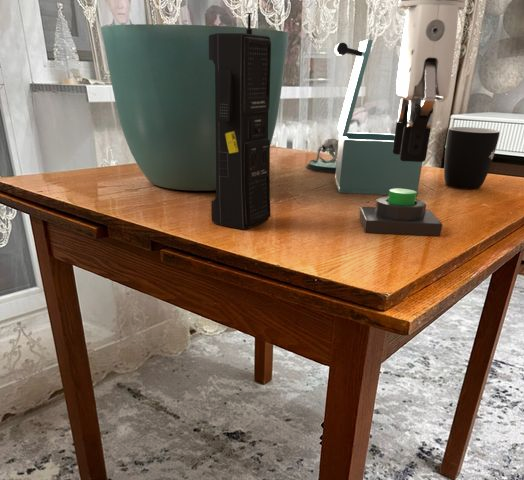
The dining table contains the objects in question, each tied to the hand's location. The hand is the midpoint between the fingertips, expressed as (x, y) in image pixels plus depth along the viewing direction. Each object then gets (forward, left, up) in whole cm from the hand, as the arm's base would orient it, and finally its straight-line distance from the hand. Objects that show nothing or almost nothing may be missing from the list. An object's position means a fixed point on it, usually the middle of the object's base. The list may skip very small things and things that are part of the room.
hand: (408, 156), depth 71 cm
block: (0, 0, -9) cm, 9 cm away
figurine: (+7, -46, -10) cm, 48 cm away
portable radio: (+22, +2, -10) cm, 24 cm away
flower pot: (+32, -25, -10) cm, 42 cm away
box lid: (+5, -27, +7) cm, 28 cm away
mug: (-18, -34, -10) cm, 40 cm away
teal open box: (0, -27, -9) cm, 29 cm away
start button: (0, 0, -6) cm, 6 cm away
